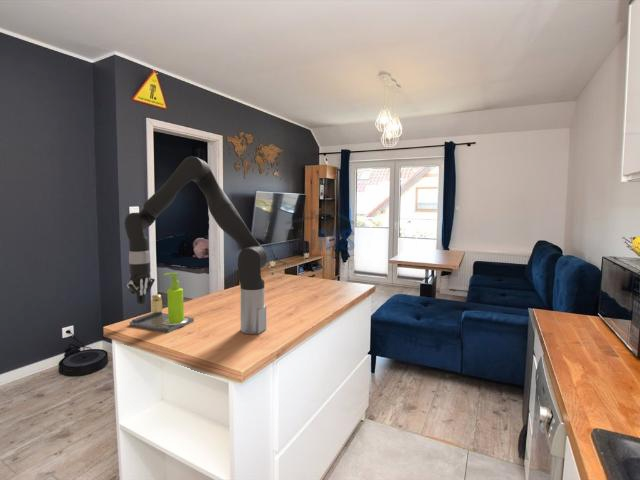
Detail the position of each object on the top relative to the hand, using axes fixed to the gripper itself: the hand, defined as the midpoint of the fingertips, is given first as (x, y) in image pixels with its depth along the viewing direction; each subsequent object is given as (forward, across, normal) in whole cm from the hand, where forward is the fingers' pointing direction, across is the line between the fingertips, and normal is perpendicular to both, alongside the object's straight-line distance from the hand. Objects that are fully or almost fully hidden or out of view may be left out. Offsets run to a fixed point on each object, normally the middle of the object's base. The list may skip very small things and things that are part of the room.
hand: (141, 303), depth 141 cm
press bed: (+8, +3, -8) cm, 12 cm away
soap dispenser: (+7, +4, -14) cm, 16 cm away
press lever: (+6, +8, 0) cm, 10 cm away
